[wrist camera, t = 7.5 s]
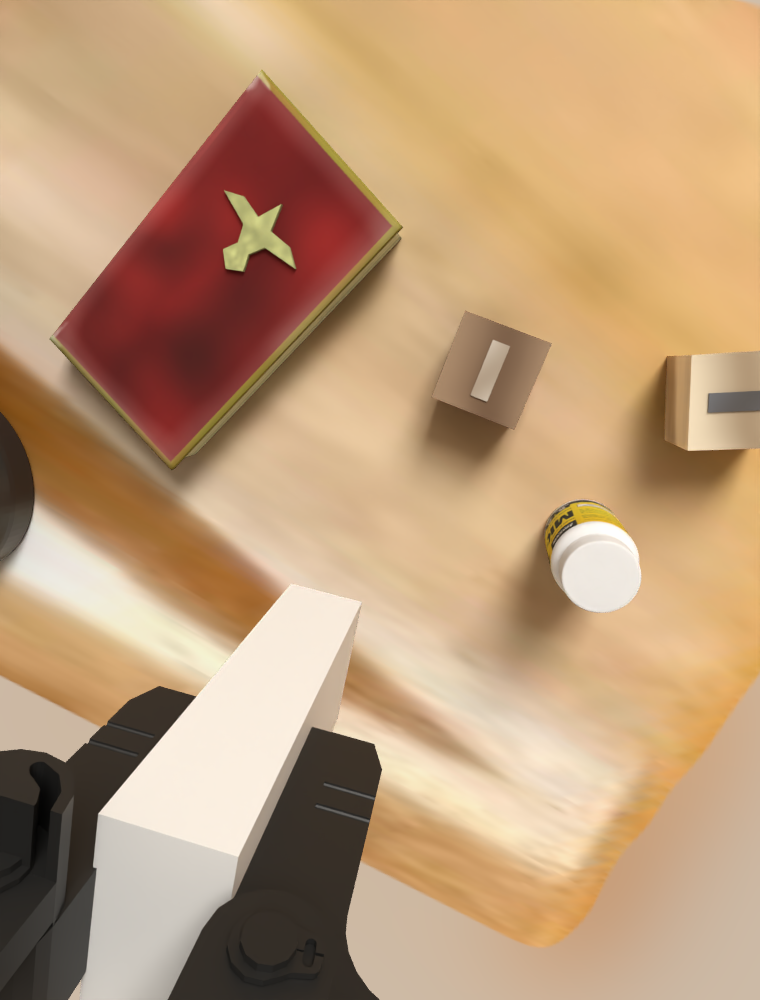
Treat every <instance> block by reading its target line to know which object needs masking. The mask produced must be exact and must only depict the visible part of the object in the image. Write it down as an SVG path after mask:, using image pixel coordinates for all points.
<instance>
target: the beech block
mask: <svg viewBox="0 0 760 1000" xmlns="http://www.w3.org/2000/svg"><path fill="white" fill-rule="evenodd" d="M664 440H665V441H667V442H670V443H672V444H674V445H676V446H678V447H680V448H683V449H685V450H687V451H698V450H728V449H758V448H760V351H748V352H732V353H716V354H700V355H684V356H668V357H667V372H666V402H665V432H664Z"/></svg>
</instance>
